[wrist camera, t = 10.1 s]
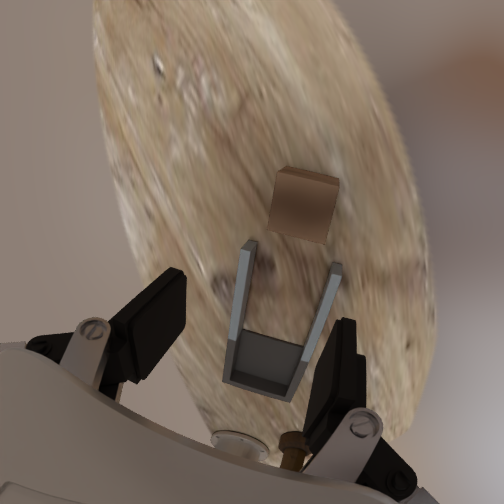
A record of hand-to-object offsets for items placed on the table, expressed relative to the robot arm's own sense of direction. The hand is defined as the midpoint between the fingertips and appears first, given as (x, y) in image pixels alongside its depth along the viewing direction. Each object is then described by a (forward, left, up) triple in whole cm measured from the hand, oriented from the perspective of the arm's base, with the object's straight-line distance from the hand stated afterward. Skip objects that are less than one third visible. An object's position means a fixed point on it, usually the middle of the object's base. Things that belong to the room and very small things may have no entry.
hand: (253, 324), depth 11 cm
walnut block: (+1, 0, -18) cm, 18 cm away
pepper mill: (-41, -10, -18) cm, 45 cm away
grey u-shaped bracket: (-15, 0, -18) cm, 23 cm away
